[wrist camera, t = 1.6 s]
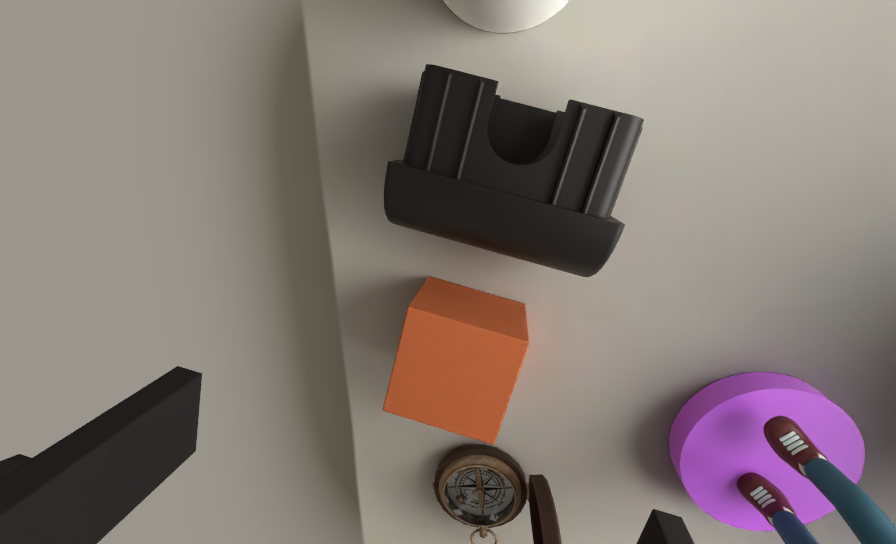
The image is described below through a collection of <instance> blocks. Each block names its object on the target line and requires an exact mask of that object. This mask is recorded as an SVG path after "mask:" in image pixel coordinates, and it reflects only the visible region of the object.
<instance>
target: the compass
mask: <svg viewBox="0 0 896 544" xmlns="http://www.w3.org/2000/svg"><path fill="white" fill-rule="evenodd" d="M433 489H434V490H435V494H436V497H437V500H438V502H439V503H440V505H441V506H442V508H443V509H444V510H445V511H446V512H447V513H448V514H449V515H450V516H451V517H452V518H454V519H456V520H458V521H460V522H461V523H463V524H466V525H470V526H473V527H480V528H479V529H477V530H475V531H473V533H472V534H471V538H470V540H471V543H472V544H475V543H474V542H473V539H472V538H473V535H474V534H475V533H476V532H478V531H479V533H480V537H482V538H485V537H487V532H489V533H491V534H492V535H493V536H494V537H495V544H497V541H498V540H497V537H496V535H495V534H494V533H493V532H492V531H491V530H489V529H487V528H491V527H496V526H501V525H504V524H506V523H508V522H510V521H512V520H513V519H514V518H515V517H516V516H517V515H518V514H519V513H520V512H521V511H522V509H523V507H524V505H525V503H526V500H527V498H528V501H529V505H530V516H531V525H532V534H533V541H534V544H562V543H561V536H560V529H559V524H558V518H557V514H556V509H555V505H554V501H553V497H552V494H551V490H550V486H549V484H548V481H547V479H546V478H545V477H544V476H543V475H542V474H541V475H530V477H529V483H527V481H526V477H525V474H524V472H523V471H522V469H521V467H520V466H519V464H518V463H517V462H516V461H515V460H514V459H513V458H512V457H511V456H510V455H509V454H507V453H505V452H503V451H501V450H499V449H498V448H494V447H490V446H486V445H467V446H463V447H459V448H457V449H455V450H453V451H452V452H450V453H448V454H447V455H446V456H445V457H444V459H443V460H442V461H441V462H440V464H439V466H438V469H437V471H436V474H435V482H434V483H433ZM527 495H528V496H527ZM486 527H487V528H486Z"/></svg>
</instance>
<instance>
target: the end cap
mask: <svg viewBox="0 0 896 544" xmlns="http://www.w3.org/2000/svg"><path fill="white" fill-rule="evenodd" d="M497 85H498V81H495V80H491V79H487V78H483V77H479V76H476V75H472V74H468V73H464V72H460V71H456V70H452V69H448V68H444V67H440V66H436V65H430V64H427V65H426V67H425V71H424V72H423V73H422V76H421V81H420V86H419V90H418V95H417V100H416V104H415V109H414V114H413V118H412V123H411V128H410V132H409V137H408V142H407V146H406V151H405V156H404V160H395V161H388V166H387V171H386V178H385V187H384V208H385V214H386V216H387V219H388V220H389V221H390V222H391V223H393V224H396V225H400V226H403V227H407V228H411V229H414V230H418V231H421V232H425V233H429V234H432V235H436V236H439V237H443V238H446V239H450V240H454V241H457V242H461V243H464V244H468V245H472V246H475V247H479V248H482V249H486V250H489V251H493V252H497V253H500V254H504V255H507V256H511V257H514V258H518V259H522V260H525V261H529V262H532V263H536V264H540V265H543V266H547V267H550V268H554V269H557V270H561V271H565V272H568V273H572V274H575V275H579V276H583V277H590V276H592V275H594V274H596V273H597V272H598V271H599V270H600V269H601V268H602V267H603V266H604V264H605V263H606V261H607V260H608V259H609V257H610V255H611V253H612V252H613V250H614V248H615V246H616V244H617V242H618V240H619V238H620V235H621V233H622V231H623V228H624V226H625V224H623V223H621V222H620V221H618V220H616V219H615V218H613V217H611V213H612V210H613V207H614V205H615V202H616V199H617V196H618V194H619V191H620V188H621V186H622V183H623V180H624V177H625V175H626V172H627V169H628V166H629V164H630V161H631V158H632V156H633V153H634V150H635V147H636V145H637V142H638V139H639V136H640V134H641V131H642V124H643V121H644V120H643V119H642V118H639V117H637V116H633V115H629V114H625V113H621V112H617V111H613V110H609V109H606V108H602V107H598V106H594V105H590V104H586V103H582V102H578V101H574V100H569V101H568V105H567V108H566V111H565V112H562V111H557V113H555V112H551V111H547V110H543V109H539V108H535V107H532V106H528V105H524V104H520V103H516V102H512V101H508V100H504V99H500V96H499V95H495V93H496V89H497Z"/></svg>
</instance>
